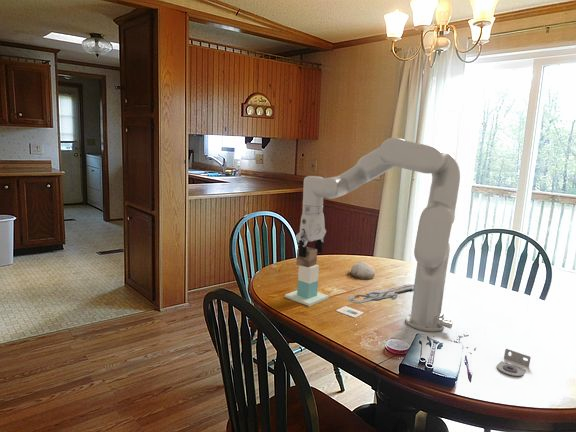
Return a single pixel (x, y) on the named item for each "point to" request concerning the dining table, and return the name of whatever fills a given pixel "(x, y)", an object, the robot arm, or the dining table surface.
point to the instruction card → (350, 311)
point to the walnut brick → (307, 258)
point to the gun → (383, 294)
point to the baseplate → (306, 301)
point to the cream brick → (308, 274)
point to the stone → (362, 270)
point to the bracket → (515, 358)
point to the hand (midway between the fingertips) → (310, 254)
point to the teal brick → (307, 289)
